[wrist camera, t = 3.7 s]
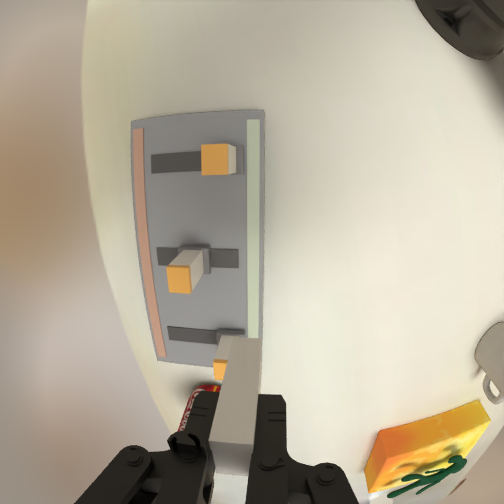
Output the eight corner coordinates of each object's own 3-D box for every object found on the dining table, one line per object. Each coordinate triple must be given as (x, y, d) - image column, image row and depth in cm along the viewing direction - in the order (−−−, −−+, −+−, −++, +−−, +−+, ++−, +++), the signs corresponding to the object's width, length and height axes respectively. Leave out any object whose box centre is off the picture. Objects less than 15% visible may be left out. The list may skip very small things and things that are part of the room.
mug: (486, 323, 32) (522, 361, 21) (513, 319, 31) (547, 352, 21) (459, 380, 35) (484, 421, 25) (488, 373, 35) (513, 409, 24)
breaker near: (210, 146, 26) (193, 142, 20) (243, 145, 25) (235, 140, 20) (210, 174, 27) (194, 178, 21) (243, 174, 26) (235, 177, 21)
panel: (139, 123, 28) (130, 121, 26) (264, 113, 27) (263, 109, 24) (162, 352, 37) (156, 361, 35) (261, 360, 36) (260, 371, 34)
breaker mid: (180, 245, 29) (159, 264, 24) (209, 246, 29) (194, 265, 23) (182, 270, 30) (163, 293, 24) (211, 271, 30) (197, 296, 24)
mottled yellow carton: (393, 481, 28) (501, 437, 26) (378, 429, 40) (478, 398, 37) (371, 511, 33) (466, 478, 31) (363, 469, 45) (451, 443, 43)
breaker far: (217, 329, 32) (206, 360, 26) (245, 330, 32) (239, 362, 26) (219, 348, 33) (209, 380, 27) (245, 350, 32) (239, 382, 27)
